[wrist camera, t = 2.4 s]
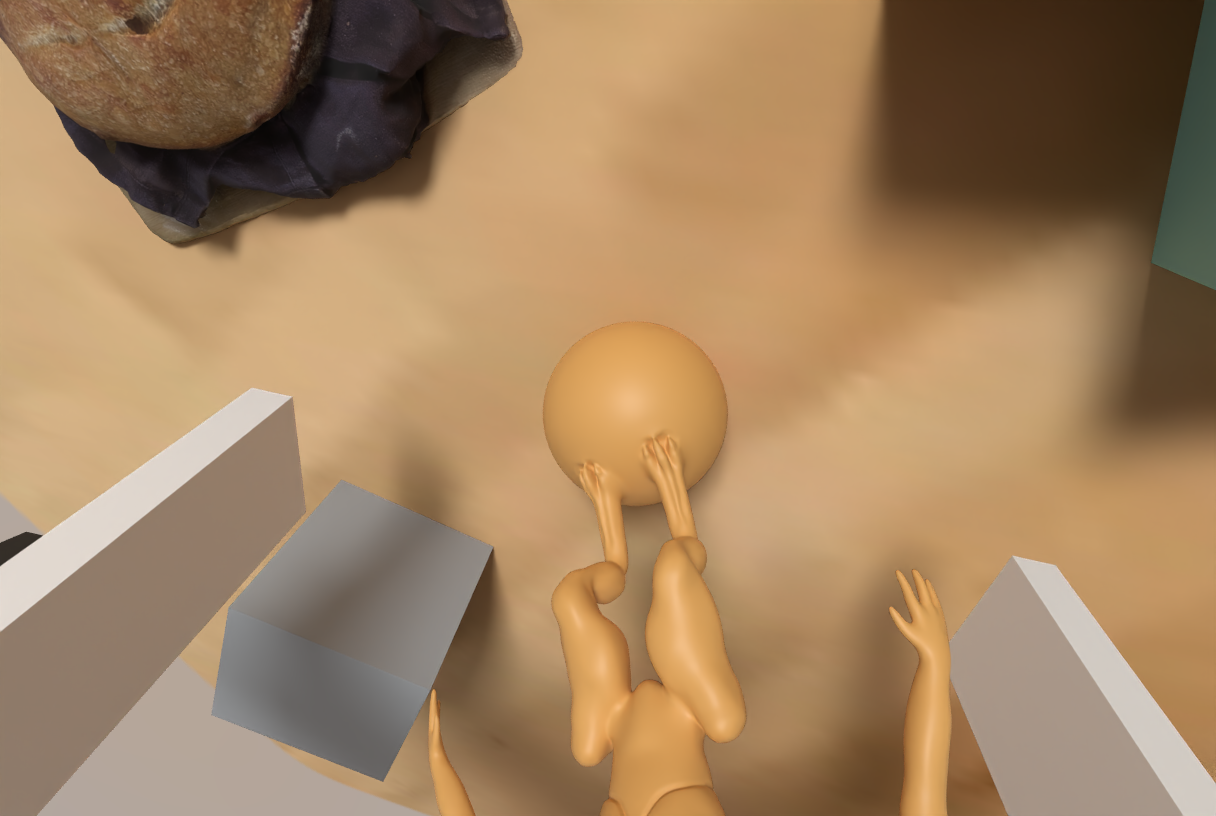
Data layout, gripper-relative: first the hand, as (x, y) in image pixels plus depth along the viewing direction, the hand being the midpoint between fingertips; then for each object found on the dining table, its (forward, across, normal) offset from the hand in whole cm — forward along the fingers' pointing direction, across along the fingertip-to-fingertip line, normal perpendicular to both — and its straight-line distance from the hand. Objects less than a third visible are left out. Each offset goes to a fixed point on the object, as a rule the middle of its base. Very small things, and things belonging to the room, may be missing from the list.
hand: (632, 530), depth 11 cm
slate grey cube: (+5, -7, -8) cm, 11 cm away
